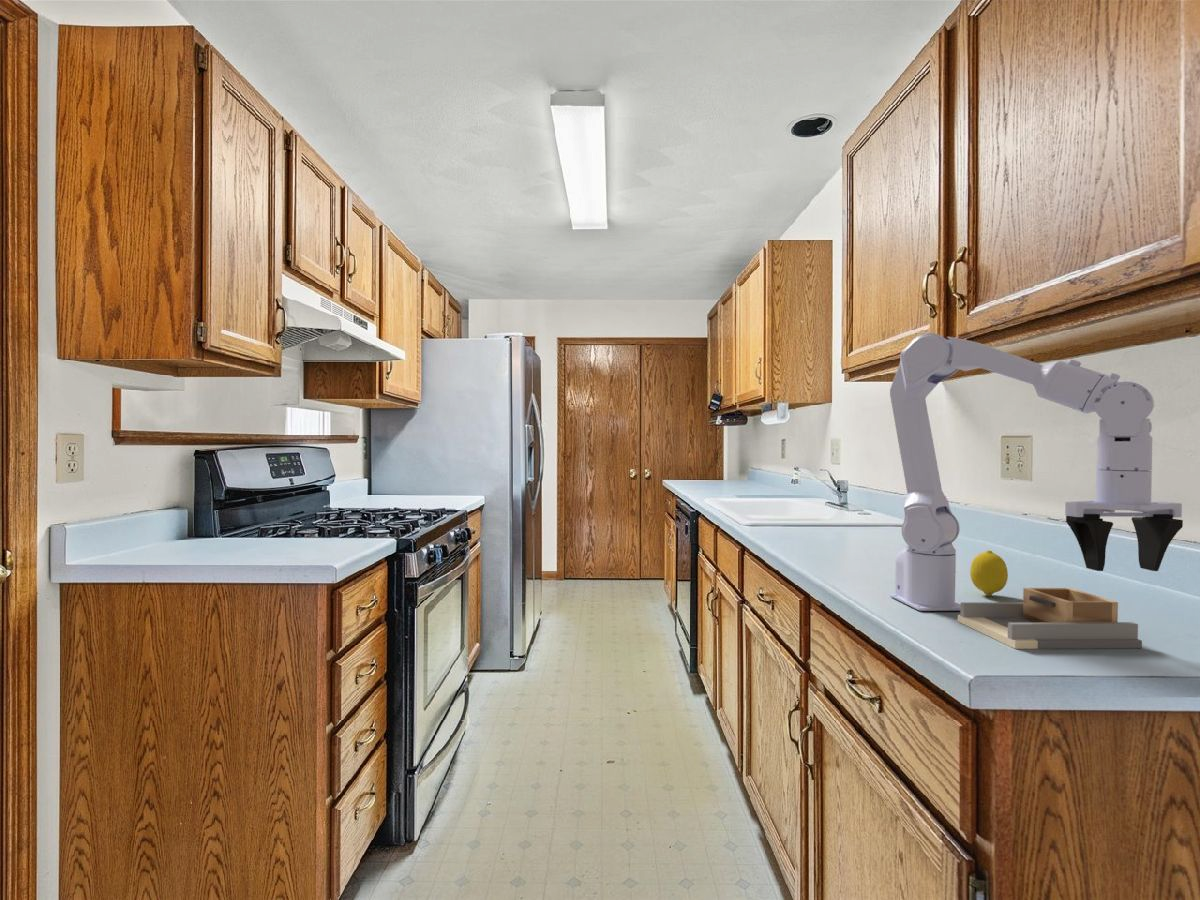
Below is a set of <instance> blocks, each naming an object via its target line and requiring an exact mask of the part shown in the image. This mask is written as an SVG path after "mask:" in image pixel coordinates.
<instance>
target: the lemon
mask: <svg viewBox="0 0 1200 900" xmlns="http://www.w3.org/2000/svg"><path fill="white" fill-rule="evenodd" d="M969 571H970V573H969V575H970V580H971V582H972V584H973V585H974V586H975V588H976V589H978V590H979V591H981V592H983V593H984V594H985V596H988V597H992V595H994V593H998V592H1000V591H1002V590H1003V589H1004V588H1005V586H1006V585H1007V583H1008V577H1009V572H1008V568H1007V564H1006V562H1005V561H1004V559H1003V558H1002V557H1001V556H1000V555H999V554H997V553H994V552H993V550H989V549H988V550H986V551H984V552H982V553H979V554H977V555H976V556H975V557H974V558H973V560H972V562H971V565H970V570H969Z"/></svg>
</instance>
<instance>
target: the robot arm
mask: <svg viewBox="0 0 1200 900" xmlns="http://www.w3.org/2000/svg"><path fill="white" fill-rule="evenodd" d="M899 359H900V360H899V365H898V367H897V370H896V373H895V375H894V378H893V380H892V383H891V385H890V387H889V388H890V389H889V397H890V402H891V403H890V404H891V408H892V413H893V420H894V425H895V431H896V436H897V442H898V449H899V453H900V460H901V465H902V470H903V478H904V481H905V488H906V493H907V495H906V499H905V501H904V505H903V512H904V520H903V523H902V525H901V536H902V538H903V540H904V542H905V543H906V545H905V548H903V549H902V550H900V552H899V553H898V554H897V556H896V559H895V569H894V570H895V574H894V575H895V576H894V577H895V579H894V582H895V583H894V584H895V585H894V587H895V588H894V589H895V590H894V592H893V593H892V592H891V593H890V594H889V597H891V598H893V599H895V600H897V601H899V602H900V603H903V604H905V605H907V606H910V607H912V608H913V609H916V610H917V611H922V612H924V611H925V612H927V611H928V612H929V611H931V612H932V611H933V612H934V611H935V612H937V611H938V612H942V611H943V612H944V611H949V612H952V611H953V612H955V611H957V612H958V611H959V612H960V603H958V602H956V573H957V572H956V571H957V570H956V564H957V563H956V562H957V560H956V559H957V558H956V557H957V555H956V553H957V550H956V548H955V547H954V545H953V542H955V541H956V539H957V538H958V537H959V534H960V528H961V527H960V523H959V520H958V519H957V517H956V516H955V515H954V514H953V512H952V510H951V509H950V504H949V503H950V502H949V500H948V498H947V496H946V495H945V492H943V489H942V484H941V483H942V482H941V478H940V472H939V465H938V461H937V456H936V451H935V443H934V439H933V434H932V433H933V432H932V429H931V428H932V427H931V422H930V417H929V413H928V405H927V401H926V400H927V399H926V398H927V397H928V395H929V394H930V393H931V392H932V391H933V390H934V389H935V388H936V386H938V384H939V383H941V382H943V381H945V380H946V379H948V378H950V377H952V376H953V375H955V374H956V373H957V372H958V371H959V370H961V371H963V372H968V371H973V370H979V369H981V370H982V369H983V370H986V371H989V372H991V373H992V372H993V373H995V374H998V375H1002V376H1004V377H1005V376H1006V377H1008V378H1012V379H1015V380H1018V381H1020V382H1024V383H1026V384H1030V385H1032V386H1033V388H1034V389H1035V391H1036V394H1037V396H1038V397H1039V398H1041V399H1045V400H1047V401H1050V402H1053V403H1055V404H1059V405H1061V406H1063V407H1067V408H1069V409H1072V410H1075V411H1077V412H1078V411H1079V412H1081V413H1083V414H1090V413H1096V414H1097V416H1098V417H1099V418H1100V419H1099V431H1098V432H1099V434H1098V436H1097V437H1096V476H1095V477H1096V479H1095V481H1096V482H1095V483H1096V484H1095V485H1096V487H1095V488H1096V489H1095V492H1096V493H1095V494H1096V495H1095V500H1082V501H1079V500H1078V501H1065V502H1064V503H1065V504H1064V505H1065V510H1064V511H1065V512H1064V513H1065V522H1066V524H1067V525H1068V527H1069V528H1070V530H1071V531H1072V533H1073V534H1074V536H1075V538H1076V541H1077V543H1078V545H1079V548H1080V551H1081V554H1082V557H1083V561H1084V564H1085V568H1086V569H1089V570H1093V571H1096V572H1103V571H1104V569H1105V564H1106V549H1107V544H1108V538H1109V536H1110V533H1111V530H1112V527H1113V526H1114V523H1113V522H1112V521H1106V520H1104V518H1102V517H1112V518H1113V517H1120V518H1122V517H1123V518H1124V517H1125V518H1126V517H1128V518H1129V517H1131V521H1132V524H1133V528H1134V531H1135V533H1136V539H1137V547H1138V548H1137V549H1138V550H1137V552H1138V564H1139V567H1140V569H1142V570H1148V571H1153V572H1159V569H1160V567H1161V564H1162V562H1163V558H1164V557H1165V554H1166V552H1167V549H1168V547H1169V545H1170V544H1171V542H1172V540H1173V539H1174V537H1175V536H1176V535H1177V534H1178V532H1179V531H1181V529H1182V528H1183V525H1184V524H1183V519H1179V518H1182V513H1183V512H1182V508H1183V507H1182V506H1183V504H1182V503H1180V502H1172V501H1152V487H1153V486H1152V480H1153V479H1152V478H1153V477H1152V475H1153V474H1152V473H1153V437H1152V435H1151V434H1150V433H1151V432H1152V422H1151V419H1150V418H1148V417H1149V416H1150V415H1151V414H1152V412H1153V410H1154V403H1155V400H1154V398H1153V397H1154V396H1153V395H1152V393H1150V391H1149V390H1148V389H1147V388H1146V387H1145V386H1143V385H1141V384H1139V383H1137V382H1132V381H1119V380H1120V378H1121V375H1119V374H1117V373H1114V372H1111V373H1110V374H1109V375H1108V374H1105V373H1102V372H1099V371H1096V370H1092V369H1089V368H1086V367H1083V366H1081V365H1082V362H1080V361H1079V360H1075V359H1069V360H1068V362H1067V361H1063V360H1056V361H1052V362H1051V363H1048V364H1042V363H1041V364H1040V363H1037V362H1035V361H1032V360H1029V359H1026V358H1024V357H1021V356H1018V355H1016V354H1015V355H1014V354H1012V353H1009V352H1006V351H1004V350H1001V349H997V348H994V347H992V346H989V345H987V344H985V343H984V344H983V343H981V342H978V341H972V340H968V339H963V338H958V337H953V336H947V337H946V338H945V337H944V336H942V335H940V334H937V333H934V332H926V333H923V334H922V333H921V334H919V335H918V336H916V337H915V338H914V339H912V340H911V341H910V343H908V345H907V346H906V347H905V348H904V349H903V350H902V351H901V352H900V356H899ZM1115 511H1121V512H1115ZM1122 511H1125V512H1122ZM1126 511H1130V512H1126Z"/></svg>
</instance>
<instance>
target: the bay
mask: <svg viewBox="0 0 1200 900" xmlns="http://www.w3.org/2000/svg"><path fill="white" fill-rule="evenodd" d="M959 604H960V611H959V612H960V614H957V622H958V623H960V624H962V625H964V626H967V627H969V628H971V629H973V630H975V631H977V632H979V633H981V634H983V635H986V637H987V636H988V637H990V638H992V639H994V640H996V641H998V642H1001V643H1002V644H1004V645H1006V646H1008V647H1011V648H1013V649H1016V650H1017V649H1019V650H1020V649H1021V650H1022V649H1024V650H1027V649H1031V650H1032V649H1034V650H1035V649H1040V650H1041V649H1045V650H1046V649H1049V650H1050V649H1051V650H1052V649H1054V650H1055V649H1056V650H1059V649H1142V648H1143V640H1141V639H1139V624H1138V623H1137V622H1133V621H1132V622H1131V621H1125V622H1123V621H1120V622H1119V621H1118V622H1032V621H1030V620H1027V619H1025V618H1023V601H1022V602H1021V601H1019V602H1017V601H1016V602H1009V601H1008V602H1005V601H1004V602H1003V601H1002V602H997V601H996V602H993V601H991V602H980V601H979V602H978V601H977V602H975V601H974V602H960V603H959Z"/></svg>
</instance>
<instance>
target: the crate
mask: <svg viewBox="0 0 1200 900" xmlns="http://www.w3.org/2000/svg"><path fill="white" fill-rule="evenodd" d="M1022 593H1023V595H1022V599H1023V600H1022V602H1023V618H1025V619H1027V620H1030V621H1032V622H1119V621H1118V618H1119V617H1118V616H1119V615H1118V614H1119V613H1118V611H1119V610H1118V609H1119V608H1118V607H1119V602H1117V601H1115V600H1111V599H1108V598H1104V597H1102V596H1097V595H1095V594H1091V593H1088V592H1084V591H1081V590H1078V589H1074V588H1071V587H1023V591H1022Z"/></svg>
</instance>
